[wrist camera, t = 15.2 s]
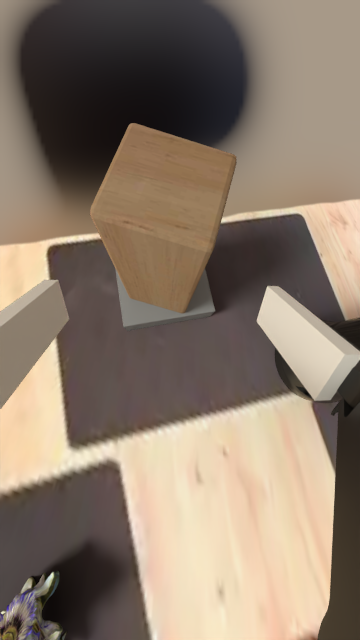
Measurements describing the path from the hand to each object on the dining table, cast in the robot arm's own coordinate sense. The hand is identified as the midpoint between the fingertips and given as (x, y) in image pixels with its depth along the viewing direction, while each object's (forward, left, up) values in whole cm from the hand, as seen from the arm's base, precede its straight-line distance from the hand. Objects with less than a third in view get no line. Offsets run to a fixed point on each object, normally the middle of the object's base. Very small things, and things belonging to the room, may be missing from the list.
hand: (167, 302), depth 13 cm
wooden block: (-2, -10, -21) cm, 23 cm away
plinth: (-2, -10, -25) cm, 27 cm away
